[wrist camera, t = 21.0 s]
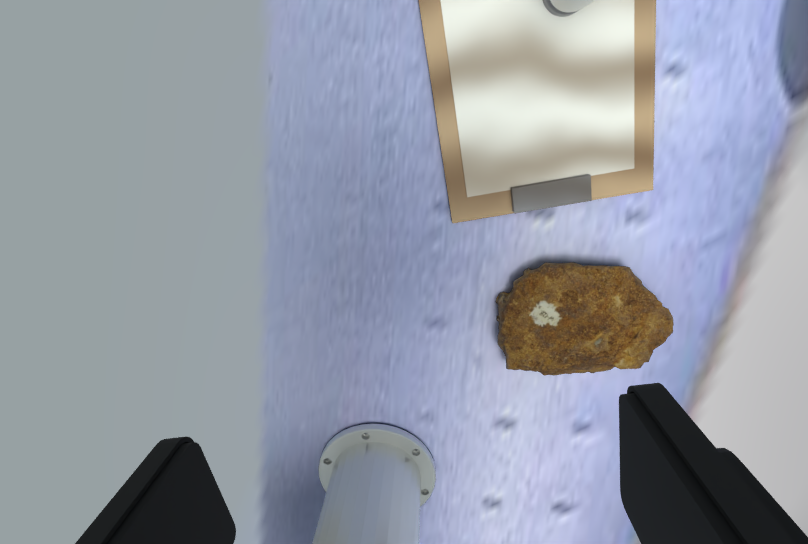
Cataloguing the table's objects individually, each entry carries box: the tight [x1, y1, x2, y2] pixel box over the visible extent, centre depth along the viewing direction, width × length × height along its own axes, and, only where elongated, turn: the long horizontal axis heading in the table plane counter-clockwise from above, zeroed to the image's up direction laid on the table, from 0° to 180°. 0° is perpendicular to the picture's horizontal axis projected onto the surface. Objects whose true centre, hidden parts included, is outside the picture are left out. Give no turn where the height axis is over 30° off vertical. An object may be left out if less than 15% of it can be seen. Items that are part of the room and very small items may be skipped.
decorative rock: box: [496, 262, 673, 375], centre depth 37 cm, size 11×4×15 cm
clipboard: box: [419, 0, 656, 223], centre depth 31 cm, size 20×16×2 cm
